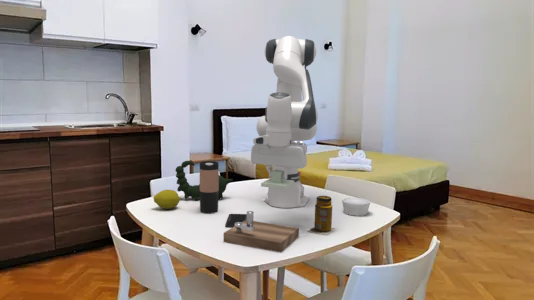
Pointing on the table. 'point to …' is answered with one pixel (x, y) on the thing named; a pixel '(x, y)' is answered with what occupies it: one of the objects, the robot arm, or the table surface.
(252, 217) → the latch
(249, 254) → the table surface
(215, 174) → the travel mug
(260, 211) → the table surface
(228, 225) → the phone
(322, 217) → the condiment
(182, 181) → the toy figurine
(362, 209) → the ramekin
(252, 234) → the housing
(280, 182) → the cover
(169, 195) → the lemon
